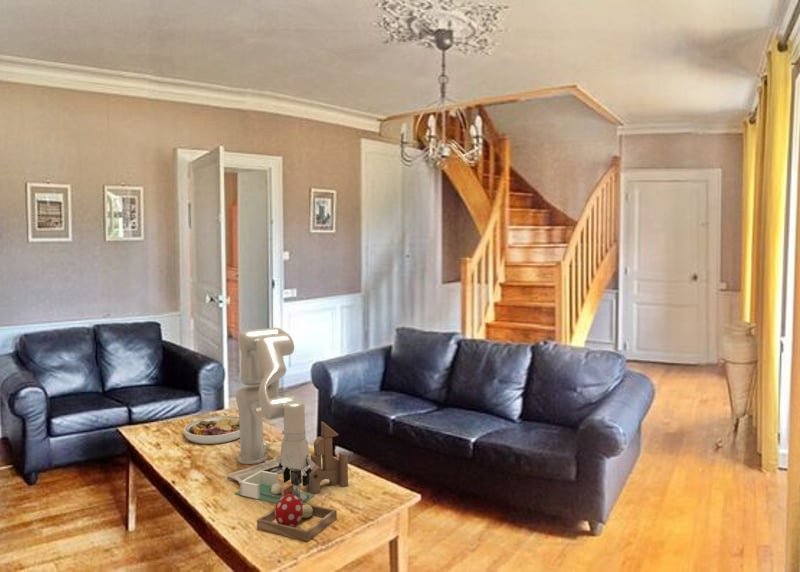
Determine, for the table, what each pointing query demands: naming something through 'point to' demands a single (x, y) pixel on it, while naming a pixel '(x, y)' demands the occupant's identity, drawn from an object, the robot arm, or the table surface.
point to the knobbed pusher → (294, 485)
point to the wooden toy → (327, 462)
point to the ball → (276, 489)
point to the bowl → (213, 430)
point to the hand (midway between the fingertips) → (296, 482)
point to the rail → (278, 496)
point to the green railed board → (266, 489)
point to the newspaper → (256, 470)
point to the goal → (257, 483)
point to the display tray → (297, 533)
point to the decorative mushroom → (291, 510)
